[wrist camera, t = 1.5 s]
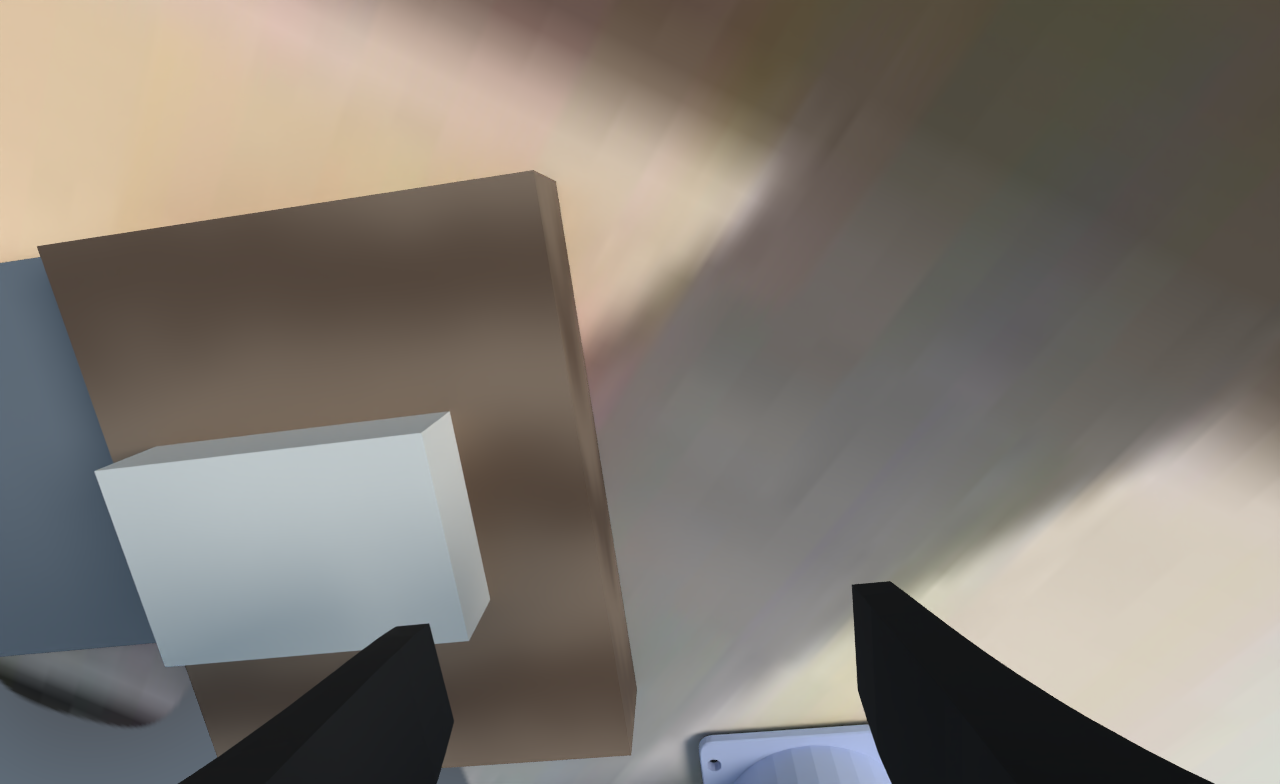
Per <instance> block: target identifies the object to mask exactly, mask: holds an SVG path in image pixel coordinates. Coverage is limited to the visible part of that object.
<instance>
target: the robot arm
mask: <svg viewBox="0 0 1280 784" xmlns="http://www.w3.org/2000/svg"><path fill="white" fill-rule="evenodd" d="M852 595H853V613H854V631H855V648H856V666H857V684H858V692H859V695H860V699H861V702H862V705H863V708H864V711H865V715H866V718H867V721H868V724H866V725H852V726H837V727H823V728H809V729H794V730H780V731H766V732H751V733H737V734H722V735H710V736H706V737H704V738H703V739H702V740H701V741H700V743H699V757H700V764H701V771H702V779H703V784H1214V783H1212V782H1210V781H1208V780H1206V779H1204V778H1202V777H1199V776H1197V775H1195V774H1193V773H1191V772H1189V771H1187V770H1185V769H1183V768H1181V767H1179V766H1177V765H1175V764H1173V763H1171V762H1169V761H1167V760H1165V759H1163V758H1161V757H1159V756H1157V755H1155V754H1153V753H1151V752H1149V751H1148V750H1146V749H1144V748H1142V747H1140V746H1138V745H1136V744H1135V743H1133V742H1131V741H1129V740H1127V739H1126V738H1124V737H1122V736H1120V735H1118V734H1117V733H1115V732H1113V731H1111V730H1109V729H1108V728H1106V727H1104V726H1102V725H1100V724H1098V723H1097V722H1095V721H1093V720H1091V719H1089V718H1088V717H1086V716H1084V715H1083V714H1081V713H1079V712H1077V711H1076V710H1074V709H1072V708H1071V707H1069V706H1067V705H1066V704H1064V703H1062V702H1061V701H1059V700H1057V699H1056V698H1054V697H1053V696H1051V695H1050V694H1048V693H1047V692H1045V691H1043V690H1042V689H1040V688H1039V687H1037V686H1036V685H1034V684H1032V683H1031V682H1029V681H1028V680H1026V679H1025V678H1023V677H1021V676H1020V675H1018V674H1017V673H1015V672H1014V671H1012V670H1011V669H1009V668H1008V667H1006V666H1005V665H1003V664H1002V663H1000V662H999V661H998V660H996V659H995V658H993V657H992V656H990V655H989V654H987V653H986V652H985V651H983V650H982V649H980V648H979V647H977V646H976V645H975V644H973V643H972V642H970V641H969V640H968V639H966V638H965V637H964V636H962V635H961V634H959V633H958V632H957V631H955V630H954V629H953V628H951V627H950V626H949V625H947V624H946V623H945V622H943V621H942V620H941V619H939V618H938V617H937V616H935V615H934V614H933V613H931V612H930V611H929V610H927V609H926V608H925V607H923V606H922V605H921V604H920V603H918V602H917V601H916V600H914V599H913V598H912V597H910V596H909V595H908V594H907V593H905V592H904V591H903V590H901V589H900V588H899V587H897V586H896V585H894V584H893V583H892V582H890V581H888V582H877V583H866V584H855V585H852ZM453 724H454V718H453V714H452V711H451V707H450V703H449V699H448V695H447V691H446V687H445V683H444V679H443V675H442V671H441V667H440V663H439V660H438V656H437V652H436V648H435V644H434V640H433V636H432V632H431V628H430V624H429V623H428V624H417V625H406V626H396V627H394V628H393V629H391V630H390V631H388V632H386V633H385V634H383V635H382V636H381V637H379V638H378V639H376V640H375V641H374V642H372V643H371V644H369V645H368V646H367V647H365V648H364V649H363V650H361V651H360V652H359V653H357V654H356V655H355V656H353V657H352V658H351V659H350V660H348V661H347V662H346V663H344V664H343V665H342V666H340V667H339V668H338V669H337V670H335V671H334V672H333V673H331V674H330V675H329V676H327V677H326V678H325V679H323V680H322V681H321V682H320V683H318V684H317V685H316V686H314V687H313V688H312V689H310V690H309V691H308V692H306V693H305V694H304V695H303V696H301V697H300V698H299V699H297V700H296V701H295V702H293V703H292V704H291V705H289V706H288V707H287V708H285V709H284V710H283V711H281V712H280V713H279V714H277V715H276V716H274V717H273V718H272V719H270V720H269V721H268V722H266V723H265V724H263V725H262V726H261V727H259V728H258V729H256V730H255V731H254V732H252V733H251V734H249V735H248V736H247V737H245V738H244V739H243V740H241V741H240V742H238V743H237V744H236V745H234V746H233V747H231V748H230V749H229V750H227V751H226V752H224V753H223V754H222V755H220V756H219V757H217V758H216V759H215V760H213V761H212V762H210V763H209V764H207V765H206V766H204V767H203V768H201V769H200V770H198V771H197V772H195V773H194V774H192V775H191V776H189V777H188V778H186V779H184V780H183V781H181V782H180V783H178V784H436V783H437V781H438V777H439V774H440V771H441V767H442V764H443V761H444V757H445V754H446V750H447V747H448V743H449V739H450V735H451V732H452V728H453ZM713 759H714V760H718V762H715V763H714V762H710V760H713Z"/></svg>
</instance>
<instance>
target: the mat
mask: <svg viewBox="0 0 1280 784" xmlns="http://www.w3.org/2000/svg"><path fill="white" fill-rule="evenodd" d="M111 464H113V460H112V458H111V455H110V452H109V449H108V446H107V443H106V441H105V438H104V435H103V432H102V429H101V426H100V424H99V421H98V418H97V415H96V412H95V409H94V407H93V404H92V401H91V398H90V395H89V392H88V390H87V387H86V384H85V381H84V378H83V375H82V373H81V370H80V367H79V364H78V361H77V359H76V356H75V353H74V350H73V347H72V344H71V342H70V339H69V336H68V333H67V330H66V327H65V325H64V322H63V319H62V316H61V313H60V310H59V308H58V305H57V302H56V299H55V296H54V293H53V291H52V288H51V285H50V282H49V279H48V276H47V274H46V271H45V268H44V265H43V262H42V260H41V257H38V258H31V259H24V260H18V261H11V262H5V263H0V657H2V656H14V655H25V654H36V653H47V652H58V651H69V650H81V649H92V648H103V647H114V646H125V645H136V644H147V643H156V640H155V638H154V635H153V632H152V629H151V627H150V624H149V621H148V618H147V616H146V613H145V610H144V607H143V605H142V602H141V599H140V596H139V593H138V591H137V588H136V585H135V582H134V580H133V577H132V574H131V571H130V569H129V566H128V563H127V560H126V558H125V555H124V552H123V549H122V547H121V544H120V541H119V538H118V536H117V533H116V530H115V527H114V524H113V522H112V519H111V516H110V513H109V511H108V508H107V505H106V502H105V500H104V497H103V494H102V491H101V489H100V486H99V483H98V480H97V478H96V475H95V472H94V471H96V470H98V469H101V468H103V467H106V466H108V465H111Z"/></svg>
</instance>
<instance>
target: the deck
mask: <svg viewBox="0 0 1280 784" xmlns="http://www.w3.org/2000/svg"><path fill="white" fill-rule="evenodd" d="M37 248H38V251H39V254H40V257H41V260H42V262H43V265H44V268H45V271H46V274H47V276H48V279H49V282H50V285H51V288H52V291H53V293H54V296H55V299H56V302H57V305H58V308H59V310H60V313H61V316H62V319H63V322H64V325H65V327H66V330H67V333H68V336H69V339H70V342H71V344H72V347H73V350H74V353H75V356H76V359H77V361H78V364H79V367H80V370H81V373H82V375H83V378H84V381H85V384H86V387H87V390H88V392H89V395H90V398H91V401H92V404H93V407H94V409H95V412H96V415H97V418H98V421H99V424H100V426H101V429H102V432H103V435H104V438H105V441H106V443H107V446H108V449H109V452H110V455H111V458H112V460H113V463H116V462H118V461H121V460H123V459H126V458H128V457H131V456H133V455H136V454H138V453H141V452H143V451H146V450H148V449H151V448H153V447H156V446H164V445H172V444H181V443H189V442H197V441H206V440H214V439H222V438H231V437H239V436H247V435H256V434H264V433H272V432H281V431H289V430H297V429H306V428H314V427H322V426H331V425H339V424H348V423H356V422H364V421H373V420H381V419H389V418H398V417H406V416H414V415H423V414H431V413H439V412H448V411H450V415H451V420H452V424H453V429H454V434H455V438H456V443H457V448H458V452H459V457H460V461H461V466H462V471H463V475H464V480H465V485H466V489H467V494H468V499H469V503H470V508H471V513H472V517H473V522H474V526H475V531H476V536H477V540H478V545H479V550H480V554H481V559H482V564H483V568H484V573H485V578H486V582H487V587H488V591H489V596H490V601H489V603H488V605H487V607H486V609H485V611H484V613H483V615H482V617H481V619H480V621H479V623H478V624H477V626H476V628H475V630H474V632H473V634H472V636H471V638H470V640H469V641H464V642H452V643H440V644H435V648H436V652H437V656H438V660H439V663H440V667H441V671H442V675H443V679H444V683H445V687H446V691H447V695H448V699H449V703H450V707H451V711H452V714H453V718H454V724H453V728H452V732H451V735H450V739H449V743H448V747H447V750H446V754H445V757H444V761H443V764H442V767H441V768H447V767H464V766H479V765H494V764H508V763H523V762H538V761H553V760H568V759H582V758H597V757H612V756H627V755H631V751H632V739H633V728H634V716H635V705H636V694H637V687H636V681H635V675H634V668H633V662H632V656H631V650H630V643H629V637H628V631H627V625H626V618H625V612H624V606H623V600H622V593H621V587H620V581H619V575H618V568H617V562H616V556H615V550H614V543H613V537H612V531H611V525H610V518H609V512H608V506H607V500H606V493H605V487H604V481H603V475H602V468H601V462H600V456H599V450H598V443H597V437H596V431H595V425H594V418H593V412H592V406H591V400H590V393H589V387H588V381H587V375H586V368H585V362H584V356H583V350H582V343H581V337H580V331H579V325H578V318H577V312H576V306H575V300H574V293H573V287H572V281H571V275H570V268H569V262H568V256H567V249H566V243H565V237H564V231H563V224H562V218H561V212H560V206H559V199H558V193H557V187H556V181H554V180H552V179H550V178H548V177H546V176H544V175H542V174H540V173H538V172H536V171H534V170H532V171H526V172H519V173H513V174H506V175H500V176H493V177H486V178H480V179H473V180H467V181H460V182H454V183H447V184H441V185H434V186H428V187H421V188H415V189H408V190H402V191H395V192H389V193H382V194H376V195H369V196H363V197H356V198H349V199H343V200H336V201H330V202H323V203H317V204H310V205H304V206H297V207H291V208H284V209H278V210H271V211H265V212H258V213H252V214H245V215H239V216H232V217H225V218H219V219H212V220H206V221H199V222H193V223H186V224H180V225H173V226H167V227H160V228H154V229H147V230H141V231H134V232H128V233H121V234H115V235H108V236H101V237H95V238H88V239H82V240H75V241H69V242H62V243H56V244H49V245H43V246H37ZM360 651H361V650H359V651H347V652H336V653H324V654H312V655H301V656H289V657H277V658H266V659H254V660H242V661H231V662H219V663H207V664H196V665H185V667H186V670H187V672H188V675H189V678H190V681H191V684H192V687H193V689H194V692H195V695H196V698H197V701H198V704H199V706H200V709H201V712H202V715H203V718H204V721H205V723H206V726H207V729H208V732H209V735H210V737H211V740H212V743H213V746H214V749H215V751H216V755H217V757H219V756H220V755H222V754H223V753H224V752H226V751H227V750H229V749H230V748H231V747H233V746H234V745H236V744H237V743H238V742H240V741H241V740H243V739H244V738H245V737H247V736H248V735H249V734H251V733H252V732H254V731H255V730H256V729H258V728H259V727H261V726H262V725H263V724H265V723H266V722H268V721H269V720H270V719H272V718H273V717H274V716H276V715H277V714H279V713H280V712H281V711H283V710H284V709H285V708H287V707H288V706H289V705H291V704H292V703H293V702H295V701H296V700H297V699H299V698H300V697H301V696H303V695H304V694H305V693H306V692H308V691H309V690H310V689H312V688H313V687H314V686H316V685H317V684H318V683H320V682H321V681H322V680H323V679H325V678H326V677H327V676H329V675H330V674H331V673H333V672H334V671H335V670H337V669H338V668H339V667H340V666H342V665H343V664H344V663H346V662H347V661H348V660H350V659H351V658H352V657H353V656H355V655H356V654H357V653H359V652H360Z"/></svg>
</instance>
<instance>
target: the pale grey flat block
mask: <svg viewBox="0 0 1280 784" xmlns="http://www.w3.org/2000/svg"><path fill="white" fill-rule="evenodd" d="M94 472H95V475H96V478H97V480H98V483H99V486H100V489H101V491H102V494H103V497H104V500H105V502H106V505H107V508H108V511H109V513H110V516H111V519H112V522H113V524H114V527H115V530H116V533H117V536H118V538H119V541H120V544H121V547H122V549H123V552H124V555H125V558H126V560H127V563H128V566H129V569H130V571H131V574H132V577H133V580H134V582H135V585H136V588H137V591H138V593H139V596H140V599H141V602H142V605H143V607H144V610H145V613H146V616H147V618H148V621H149V624H150V627H151V629H152V632H153V635H154V638H155V640H156V643H157V646H158V649H159V651H160V654H161V657H162V660H163V662H164V665H165V667H172V666H184V665H196V664H207V663H219V662H231V661H242V660H254V659H266V658H277V657H289V656H301V655H312V654H324V653H336V652H347V651H359V650H363V649H364V648H365V647H367V646H368V645H369V644H371V643H372V642H374V641H375V640H376V639H378V638H379V637H381V636H382V635H383V634H385V633H386V632H388V631H390V630H391V629H393V628H394V627H396V626H406V625H417V624H428V623H429V624H430V628H431V632H432V636H433V640H434V644H440V643H452V642H464V641H469V640H470V638H471V636H472V634H473V632H474V630H475V628H476V626H477V624H478V623H479V621H480V619H481V617H482V615H483V613H484V611H485V609H486V607H487V605H488V603H489V601H490V596H489V591H488V587H487V582H486V578H485V573H484V568H483V564H482V559H481V554H480V550H479V545H478V540H477V536H476V531H475V526H474V522H473V517H472V513H471V508H470V503H469V499H468V494H467V489H466V485H465V480H464V475H463V471H462V466H461V461H460V457H459V452H458V448H457V443H456V438H455V434H454V429H453V424H452V420H451V415H450V411H448V412H439V413H431V414H423V415H414V416H406V417H398V418H389V419H381V420H373V421H364V422H356V423H348V424H339V425H331V426H322V427H314V428H306V429H297V430H289V431H281V432H272V433H264V434H256V435H247V436H239V437H231V438H222V439H214V440H206V441H197V442H189V443H181V444H172V445H164V446H156V447H153V448H151V449H148V450H146V451H143V452H141V453H138V454H136V455H133V456H131V457H128V458H126V459H123V460H121V461H118V462H116V463H113V464H111V465H108V466H106V467H103V468H101V469H98V470H96V471H94Z"/></svg>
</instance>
